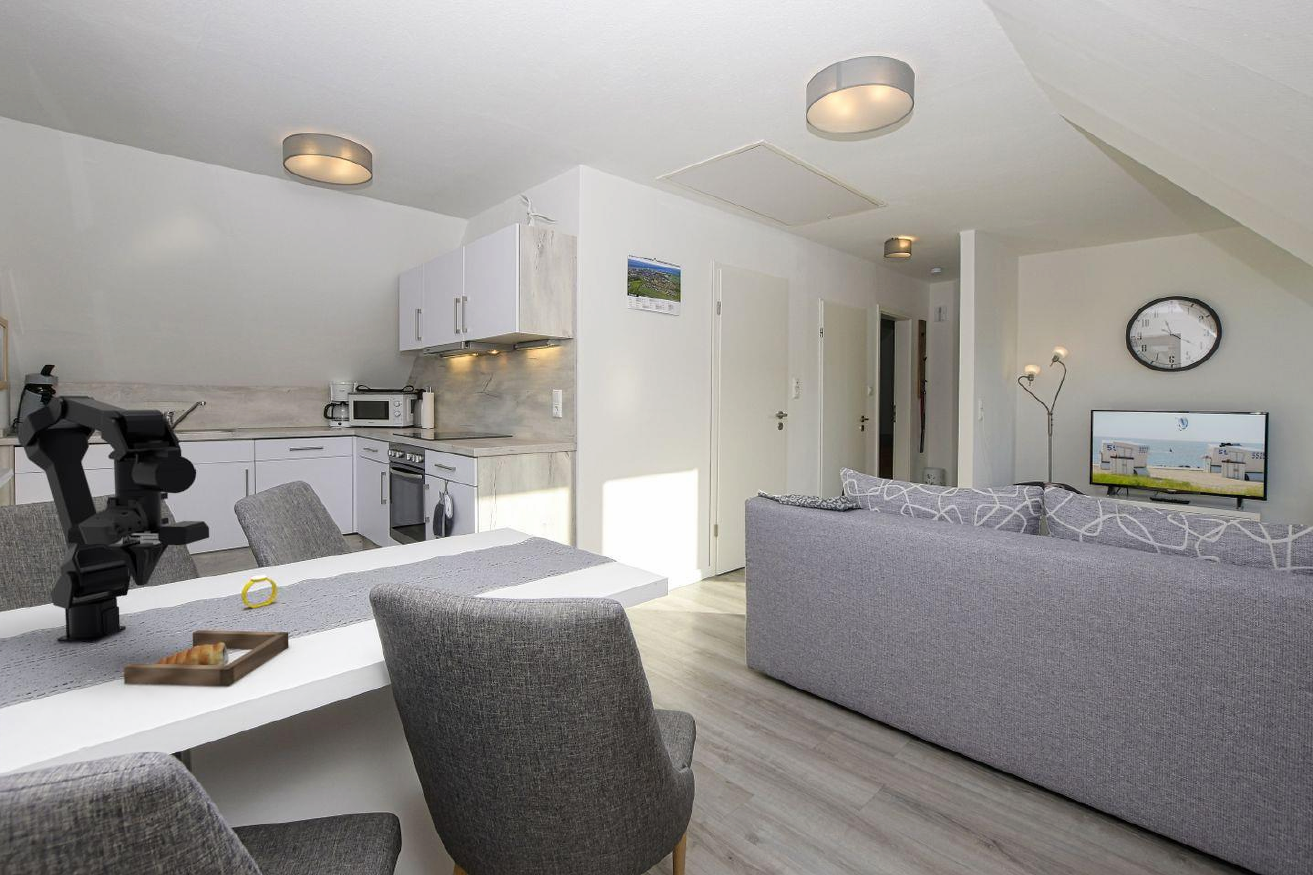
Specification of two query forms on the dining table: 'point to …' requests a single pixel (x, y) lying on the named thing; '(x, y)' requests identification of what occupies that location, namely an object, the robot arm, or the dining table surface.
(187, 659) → the pastry
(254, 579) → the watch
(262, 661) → the frame
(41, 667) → the dining table surface
